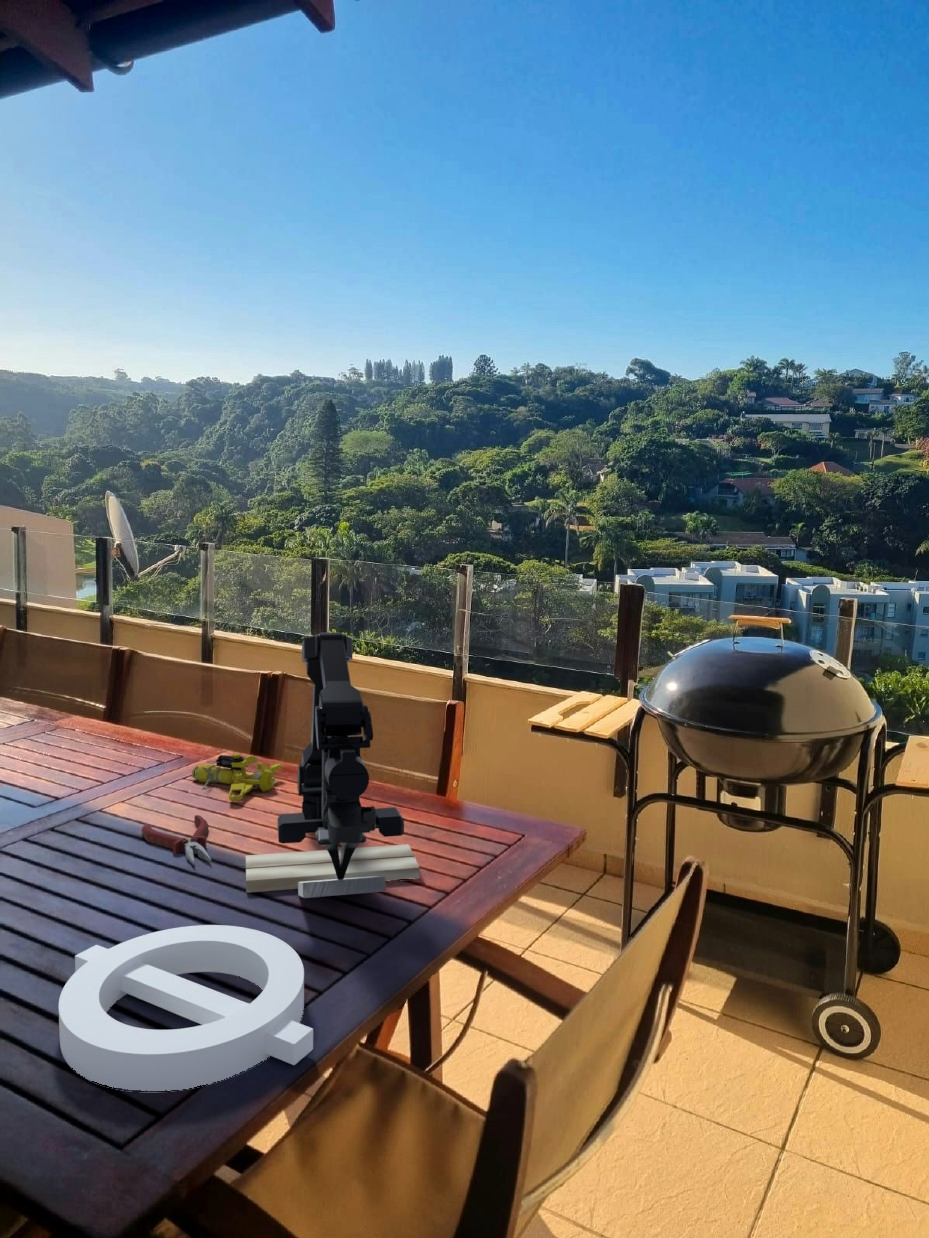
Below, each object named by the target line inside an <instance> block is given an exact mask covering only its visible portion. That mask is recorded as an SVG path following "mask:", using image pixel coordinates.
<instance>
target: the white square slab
mask: <svg viewBox="0 0 929 1238" xmlns="http://www.w3.org/2000/svg"><path fill="white" fill-rule="evenodd" d="M297 891H298V892H297V893H298V894H297V895H298V896H299V897H301V898H303V899H309V898H320V897H322V898H323V897H332V896H334V897H335V896H343V895H344V896H346V895H356V894H357V895H358V894H368V893H369V894H370V893H381V892H382V893H383V892H386V882H385V877H379V876H367V877H354V878H344V879H342V880H338V879H329V880H316V881H303V882H298V889H297Z"/></svg>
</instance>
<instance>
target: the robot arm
mask: <svg viewBox="0 0 929 1238" xmlns="http://www.w3.org/2000/svg"><path fill="white" fill-rule="evenodd" d="M301 659H302V660H301V662H302V663H305V668H306V669H305V670H306V675H307V676H308V677H307V678H309V680H310V681H311V683H312V709H311V716H312V717H311V733H310V735H311V736H310V743H309V744H308V745H307V746H306V747H305V748H304V749H303V751H302V755H301V763H298V766H297V776H296V778H297V779H296V780H297V782H296V783H297V785H296V786H297V787H296V788H297V793H298V796H302V803H301V812H294V813H281V814H280V815H279V816H278V817H277V823H276V825H277V830H276V831H277V838H278V840H277V841H278V843H280V844H298V843H302V841H304V840H305V839H306V838H307V834H310V833H311V834H312V833H313V834H315V840H316V843H317V845H318V846H321V847H325V850H327V851H328V853H329V855H330V857H331V859H332V862H333V866H334V869H335V872H336V875H337V878H338V880H342V879H344V876H345V873H346V871H347V868H348V865H349V862H350V859H351V857H352V854H353V852H354V851H355V849H356V848H358V846H359V845H361V844H364V843H367V837H366V834H368V833H371V832H373V831H375V830H376V829H378V833H379V834H380V835H382V836H383V837H385V838H386V837H399V836H401V837H402V836H403V835H404V834H405V833H404V832H405V821H404V820H405V819H404V818H403V816H402V814H401V812H400V810H399V809H398V808H397V807H395V806H394V807H381V808H378V807H377V808H376V807H375V806H373V805H372V806H362V803H361V801H360V797H361V795H363V794H364V793H365V791H366V790H367V789H368V786H369V782H370V775H369V771H368V770H367V769H368V768H367V767H366V765H365V763H364V761H363V759H362V756H361V749H368V748H369V749H370V748H371V741H373V740H374V739H373V738H374V731H373V724H372V723H373V722H372V715H371V712H370V710H369V706H367V704H364V701H363V698H362V693H361V691H360V690H358V689H357V688H356V687H354V686H353V685H352V684H351V683H352V682H351V678H350V671H349V664H348V662H351V661H352V660H353V638H352V637H350V636H347V634H346V633H343V632H341V631H340V632H337V631H336V632H320V633H317V634H315V635H309V636H308V637H306V638H303V640H302V644H301ZM362 734H363V736H361V735H362ZM340 844H341V847H340V849H341V859H340V860H339V853H338V849H339V845H340Z"/></svg>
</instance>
